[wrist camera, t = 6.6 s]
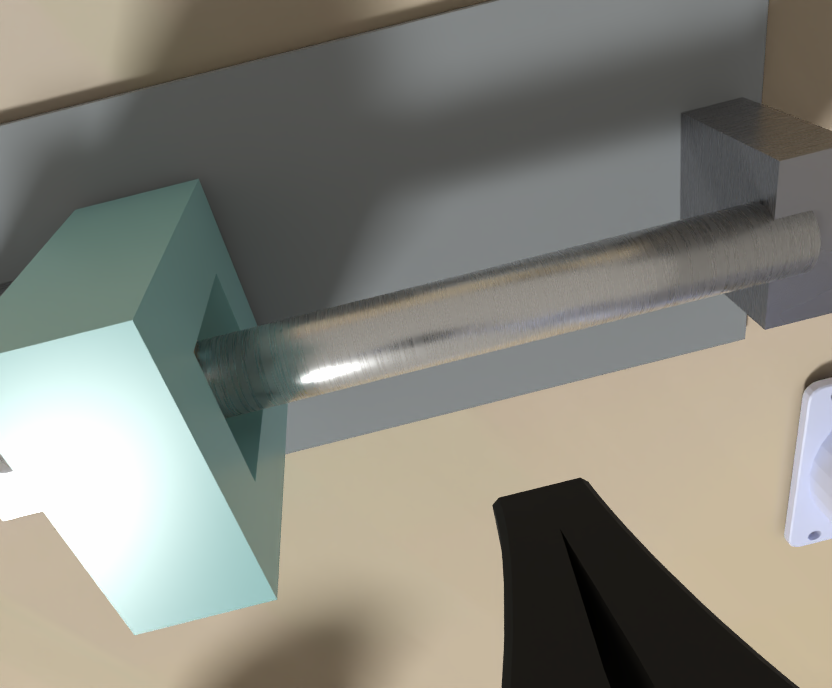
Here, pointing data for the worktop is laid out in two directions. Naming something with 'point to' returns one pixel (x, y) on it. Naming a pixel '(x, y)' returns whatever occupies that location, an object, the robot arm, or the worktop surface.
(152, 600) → the teal slotted block
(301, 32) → the worktop surface
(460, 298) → the pipe
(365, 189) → the grey rectangular plate
